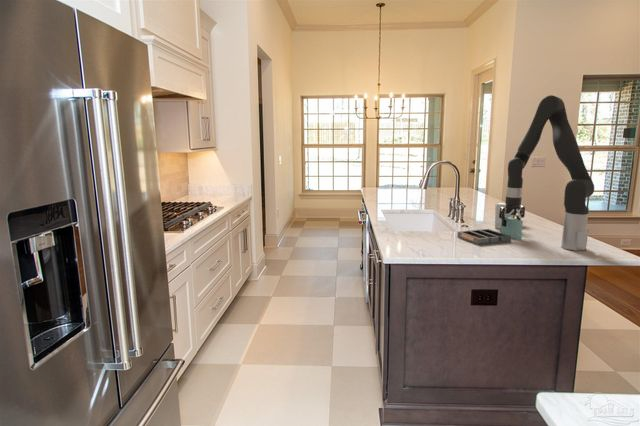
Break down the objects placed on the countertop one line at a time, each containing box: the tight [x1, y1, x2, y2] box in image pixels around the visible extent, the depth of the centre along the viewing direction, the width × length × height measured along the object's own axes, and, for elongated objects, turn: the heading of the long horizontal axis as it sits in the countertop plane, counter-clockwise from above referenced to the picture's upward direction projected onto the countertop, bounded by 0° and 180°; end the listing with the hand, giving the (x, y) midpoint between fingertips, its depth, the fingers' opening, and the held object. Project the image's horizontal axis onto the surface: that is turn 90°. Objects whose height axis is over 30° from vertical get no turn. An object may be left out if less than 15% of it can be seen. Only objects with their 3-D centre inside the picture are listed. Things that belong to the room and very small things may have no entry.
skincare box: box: [494, 202, 513, 230], centre depth 227 cm, size 8×6×15 cm
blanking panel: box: [499, 216, 524, 241], centre depth 209 cm, size 12×3×10 cm, turn 16°
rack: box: [457, 228, 512, 246], centre depth 205 cm, size 17×20×3 cm
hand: (510, 225), depth 209 cm, fingers open, 8 cm apart
